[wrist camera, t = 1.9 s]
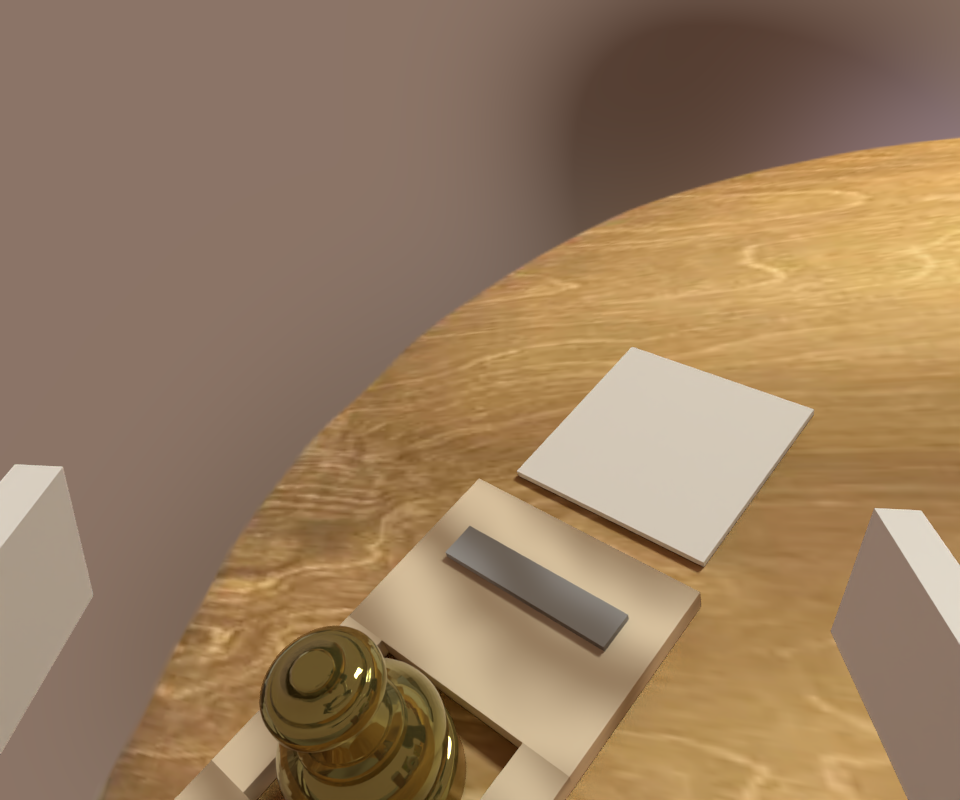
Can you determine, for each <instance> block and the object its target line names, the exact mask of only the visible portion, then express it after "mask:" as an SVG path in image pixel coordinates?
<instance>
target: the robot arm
mask: <svg viewBox="0 0 960 800" xmlns="http://www.w3.org/2000/svg"><path fill="white" fill-rule="evenodd" d="M92 597H93V592H92V587H91V583H90V579H89V575H88V571H87V566H86V562H85V558H84V554H83V549H82V545H81V541H80V537H79V532H78V528H77V524H76V520H75V516H74V511H73V507H72V503H71V499H70V495H69V490H68V486H67V482H66V478H65V473H64V469H63V467H57V466H37V465H17V464H15V465H14V466H13V467H12V469H11V470H10V471H9V472H8V473H7V474H6V476H5V477H4V478H3V479H2V480H1V482H0V754H1V753H2V751H3V749H4V747H5V746H6V744H7V742H8V741H9V739H10V737H11V735H12V734H13V732H14V730H15V729H16V727H17V725H18V723H19V722H20V720H21V718H22V716H23V715H24V713H25V711H26V710H27V708H28V706H29V705H30V703H31V701H32V699H33V698H34V696H35V694H36V692H37V691H38V689H39V687H40V686H41V684H42V682H43V680H44V679H45V677H46V675H47V674H48V672H49V670H50V669H51V667H52V665H53V663H54V662H55V660H56V658H57V657H58V655H59V653H60V651H61V650H62V648H63V646H64V645H65V643H66V641H67V639H68V638H69V636H70V634H71V633H72V631H73V629H74V627H75V626H76V624H77V622H78V621H79V619H80V617H81V615H82V614H83V612H84V610H85V609H86V607H87V605H88V603H89V602H90V600H91V598H92ZM831 633H832V635H833V638H834V640H835V642H836V644H837V646H838V648H839V651H840V653H841V655H842V657H843V659H844V662H845V664H846V666H847V668H848V670H849V672H850V675H851V677H852V679H853V681H854V683H855V685H856V688H857V690H858V692H859V694H860V696H861V698H862V701H863V703H864V705H865V707H866V709H867V711H868V714H869V716H870V718H871V720H872V722H873V725H874V727H875V729H876V731H877V733H878V735H879V738H880V740H881V742H882V744H883V746H884V748H885V751H886V753H887V755H888V757H889V759H890V761H891V764H892V766H893V768H894V770H895V772H896V774H897V777H898V779H899V781H900V783H901V785H902V788H903V790H904V792H905V794H906V796H907V798H908V800H960V565H959V564H958V562H957V561H956V559H955V558H954V557H953V555H952V554H951V552H950V551H949V549H948V548H947V547H946V545H945V544H944V542H943V541H942V540H941V538H940V537H939V535H938V534H937V532H936V531H935V530H934V528H933V527H932V525H931V524H930V522H929V521H928V520H927V518H926V517H925V515H924V514H923V512H922V511H920V510H901V509H881V508H874V511H873V513H872V516H871V519H870V522H869V525H868V528H867V530H866V533H865V536H864V539H863V542H862V544H861V547H860V550H859V553H858V556H857V559H856V561H855V564H854V567H853V570H852V573H851V576H850V578H849V581H848V584H847V587H846V590H845V593H844V595H843V598H842V601H841V604H840V607H839V609H838V612H837V615H836V618H835V621H834V624H833V626H832V629H831Z"/></svg>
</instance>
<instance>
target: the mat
mask: <svg viewBox="0 0 960 800" xmlns="http://www.w3.org/2000/svg"><path fill="white" fill-rule="evenodd" d="M813 415H814V409H811V408H808V407H805V406H802V405H800V404H797V403H794V402H791V401H788V400H785V399H782V398H779V397H776V396H773V395H771V394H768V393H765V392H762V391H759V390H756V389H753V388H750V387H747V386H744V385H742V384H739V383H736V382H733V381H730V380H727V379H724V378H721V377H718V376H715V375H712V374H710V373H707V372H704V371H701V370H698V369H695V368H692V367H689V366H686V365H683V364H681V363H678V362H675V361H672V360H669V359H666V358H663V357H660V356H657V355H654V354H652V353H649V352H646V351H643V350H640V349H637V348H634V347H631V348H630V349H629V351H628V352H627V353H626V354H625V355H624V356H623V357H622V358H621V359H620V360H619V361H618V362H617V364H616V365H615V366H614V367H613V368H612V369H611V370H610V371H609V372H608V373H607V374H606V375H605V377H604V378H603V379H602V380H601V381H600V382H599V383H598V384H597V385H596V386H595V387H594V388H593V389H592V391H591V392H590V393H589V394H588V395H587V396H586V397H585V398H584V399H583V400H582V401H581V402H580V404H579V405H578V406H577V407H576V408H575V409H574V410H573V411H572V412H571V413H570V414H569V415H568V417H567V418H566V419H565V420H564V421H563V422H562V423H561V424H560V425H559V426H558V427H557V428H556V429H555V431H554V432H553V433H552V434H551V435H550V436H549V437H548V438H547V439H546V440H545V441H544V442H543V444H542V445H541V446H540V447H539V448H538V449H537V450H536V451H535V452H534V453H533V454H532V455H531V457H530V458H529V459H528V460H527V461H526V462H525V463H524V464H523V465H522V466H521V467H520V468H519V469H518V471H517V473H518V476H520V477H522V478H524V479H526V480H528V481H530V482H532V483H534V484H536V485H539V486H541V487H543V488H545V489H547V490H549V491H551V492H553V493H555V494H557V495H559V496H561V497H563V498H565V499H567V500H569V501H571V502H573V503H575V504H577V505H579V506H581V507H583V508H585V509H587V510H589V511H591V512H593V513H595V514H597V515H599V516H601V517H603V518H605V519H607V520H609V521H611V522H613V523H615V524H617V525H620V526H622V527H624V528H626V529H628V530H630V531H632V532H634V533H636V534H638V535H640V536H642V537H644V538H646V539H648V540H650V541H652V542H654V543H656V544H658V545H660V546H662V547H664V548H666V549H668V550H670V551H672V552H674V553H676V554H678V555H680V556H682V557H684V558H686V559H688V560H690V561H692V562H694V563H696V564H699V565H701V566H703V567H704V566H705V565H706V564H707V562H708V561H709V559H710V558H711V557H712V555H713V554H714V553H715V551H716V550H717V548H718V547H719V546H720V544H721V543H722V541H723V540H724V539H725V537H726V536H727V534H728V533H729V532H730V530H731V529H732V527H733V526H734V525H735V523H736V522H737V521H738V519H739V518H740V516H741V515H742V514H743V512H744V511H745V509H746V508H747V507H748V505H749V504H750V502H751V501H752V500H753V498H754V497H755V495H756V494H757V493H758V491H759V490H760V489H761V487H762V486H763V484H764V483H765V482H766V480H767V479H768V477H769V476H770V475H771V473H772V472H773V470H774V469H775V468H776V466H777V465H778V463H779V462H780V461H781V459H782V458H783V457H784V455H785V454H786V452H787V451H788V450H789V448H790V447H791V445H792V444H793V443H794V441H795V440H796V438H797V437H798V436H799V434H800V433H801V431H802V430H803V429H804V427H805V426H806V425H807V423H808V422H809V420H810V419H811V418H812V416H813Z"/></svg>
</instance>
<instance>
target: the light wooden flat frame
mask: <svg viewBox="0 0 960 800" xmlns="http://www.w3.org/2000/svg"><path fill="white" fill-rule="evenodd" d="M700 607H701V597H700V592H699V591H697V590H695V589H693V588H691V587H689V586H687V585H685V584H683V583H681V582H679V581H677V580H675V579H673V578H671V577H669V576H668V575H666V574H664V573H662V572H660V571H658V570H656V569H654V568H652V567H650V566H648V565H646V564H644V563H642V562H640V561H638V560H636V559H635V558H633V557H631V556H629V555H627V554H625V553H623V552H621V551H619V550H617V549H615V548H613V547H611V546H609V545H607V544H605V543H603V542H601V541H600V540H598V539H596V538H594V537H592V536H590V535H588V534H586V533H584V532H582V531H580V530H578V529H576V528H574V527H572V526H570V525H568V524H566V523H565V522H563V521H561V520H559V519H557V518H555V517H553V516H551V515H549V514H547V513H545V512H543V511H541V510H539V509H537V508H535V507H533V506H531V505H530V504H528V503H526V502H524V501H522V500H520V499H518V498H516V497H514V496H512V495H510V494H508V493H506V492H504V491H502V490H500V489H498V488H496V487H495V486H493V485H491V484H489V483H487V482H485V481H483V480H481V479H478V480H477V481H476V482H475V484H474V485H473V486H472V487H471V488H470V489H469V490H468V491H467V492H466V493H465V494H464V495H463V496H462V497H461V498H460V499H459V500H458V501H457V503H456V504H455V505H454V506H453V507H452V508H451V509H450V510H449V511H448V512H447V513H446V514H445V515H444V516H443V517H442V518H441V519H440V520H439V521H438V523H437V524H436V525H435V526H434V527H433V528H432V529H431V530H430V531H429V532H428V533H427V534H426V535H425V536H424V537H423V538H422V539H421V540H420V541H419V543H418V544H417V545H416V546H415V547H414V548H413V549H412V550H411V551H410V552H409V553H408V554H407V555H406V556H405V557H404V558H403V559H402V560H401V561H400V563H399V564H398V565H397V566H396V567H395V568H394V569H393V570H392V571H391V572H390V573H389V574H388V575H387V576H386V577H385V578H384V579H383V580H382V581H381V583H380V584H379V585H378V586H377V587H376V588H375V589H374V590H373V591H372V592H371V593H370V594H369V595H368V596H367V597H366V598H365V599H364V600H363V601H362V603H361V604H360V605H359V606H358V607H357V608H356V609H355V610H354V611H353V612H352V613H351V614H350V615H349V616H348V617H347V618H346V619H345V620H344V621H343V623H342V624H341V625H340V626H347V627H351V628H354V629H357V630H359V631H361V632H363V633H364V634H366V635H367V636H368V637H369V638H370V639H371V640H372V641H373V642H374V643H375V644H376V645H377V646H378V648H379V649H380V651H381V653H382V655H383V657H385V656H386V655H387V654H388V653H390V654H392V655H393V656H394V657H396V658H397V659H398V660H400V661H402V662H404V663H407V664H409V665H411V666H413V667H414V668H416V669H417V670H419V671H420V672H421V673H423V674H424V675H425V676H426V677H427V678H428V679H429V680H430V681H431V683H432V684H433V685H434V686H435V687H436V688H438V689H439V690H441V691H442V692H443V693H445V694H446V695H447V696H449V697H450V698H451V699H453V700H454V701H455V702H457V703H458V704H460V705H461V706H462V707H464V708H465V709H466V710H468V711H469V712H470V713H472V714H473V715H475V716H476V717H477V718H479V719H480V720H481V721H483V722H484V723H485V724H487V725H488V726H489V727H491V728H492V729H494V730H495V731H496V732H498V733H499V734H500V735H502V736H503V737H504V738H506V739H507V740H509V741H510V742H511V743H513V744H514V745H515V746H517V747H518V748H519V749H518V750H517V751H516V753H515V754H514V755H513V757H512V758H511V759H510V761H509V762H508V763H507V765H506V766H505V767H504V769H503V770H502V771H501V772H500V774H499V775H498V776H497V778H496V779H495V780H494V782H493V783H492V784H491V786H490V787H489V788H488V790H487V791H486V792H485V794H484V795H483V796H482V798H481V799H480V800H566V798H567V797H568V796H569V794H570V793H571V791H572V790H573V788H574V787H575V786H576V784H577V783H578V781H579V780H580V779H581V777H582V776H583V774H584V773H585V771H586V770H587V769H588V767H589V766H590V764H591V763H592V761H593V760H594V759H595V757H596V756H597V754H598V753H599V751H600V750H601V749H602V747H603V746H604V744H605V743H606V741H607V740H608V739H609V737H610V736H611V734H612V733H613V731H614V730H615V729H616V727H617V726H618V724H619V723H620V721H621V720H622V719H623V717H624V716H625V714H626V713H627V711H628V710H629V709H630V707H631V706H632V704H633V703H634V701H635V700H636V699H637V697H638V696H639V694H640V693H641V691H642V690H643V689H644V687H645V686H646V684H647V683H648V681H649V680H650V679H651V677H652V676H653V674H654V673H655V671H656V670H657V669H658V667H659V666H660V664H661V663H662V661H663V660H664V659H665V657H666V656H667V654H668V653H669V651H670V650H671V649H672V647H673V646H674V644H675V643H676V641H677V640H678V639H679V637H680V636H681V634H682V633H683V631H684V630H685V629H686V627H687V626H688V624H689V623H690V621H691V620H692V619H693V617H694V616H695V614H696V613H697V611H698V610H699V609H700ZM277 744H278V742H277V741H276V740H275V739H274V738H273V737H272V736H271V735H270V733H269V732H268V730H267V728H266V726H265V724H264V722H263V720H262V717H261V713H260V710H259V711H258V712H257V713H256V714H255V715H254V716H253V717H252V718H251V719H250V720H249V721H248V723H247V724H246V725H245V726H244V727H243V728H242V729H241V730H240V731H239V732H238V733H237V734H236V735H235V736H234V737H233V738H232V739H231V740H230V742H229V743H228V744H227V745H226V746H225V747H224V748H223V749H222V750H221V751H220V752H219V753H218V754H217V755H216V756H215V757H214V758H213V759H212V760H211V762H210V763H209V764H208V765H207V766H206V767H205V768H204V769H203V770H202V771H201V772H200V773H199V774H198V775H197V776H196V777H195V778H194V779H193V780H192V782H191V783H190V784H189V785H188V786H187V787H186V788H185V789H184V790H183V791H182V792H181V793H180V794H179V795H178V796H177V797H176V798H175V799H174V800H257V799H258V798H259V797H260V796H261V794H262V793H263V792H264V791H265V790H266V789H267V788H268V787H269V786H270V784H271V783H272V782H273V781H274V780H275V779H276V778H277V774H276V750H277Z"/></svg>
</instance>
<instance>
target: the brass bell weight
mask: <svg viewBox="0 0 960 800" xmlns="http://www.w3.org/2000/svg"><path fill="white" fill-rule="evenodd" d="M259 705H260V713H261V717H262V720H263V722H264V724H265V726H266V728H267V730H268V732H269V733H270V735H271V736H272V737H273V738H274V739H275V740H276V741H277V742H278V744H277V750H276V774H277V780H278V784H279V787H280V790H281V793H282V795H283V797H284V799H285V800H461V797H462V794H463V790H464V785H465V779H466V759H465V753H464V749H463V745H462V742H461V740H460V737H459V735H458V733H457V731H456V729H455V725H454V723H453V720H452V718H451V716H450V714H449V712H448V711H447V709H446V708H445V706H444V704H443V702H442V699H441V697H440V695H439V693H438V691H437V690H436V688H435V687H434V685H433V684H432V683H431V681H430V680H429V679H428V678H427V677H426V676H425V675H424V674H423V673H421V672H420V671H419V670H417V669H416V668H414V667H413V666H411V665H409V664H407V663H404V662H402V661H399V660H395V659H391V658H384V657H383V655H382V653H381V651H380V649H379V648H378V646H377V645H376V644H375V643H374V642H373V641H372V640H371V639H370V638H369V637H368V636H367V635H366V634H364V633H363V632H361V631H359V630H357V629H354V628H351V627H347V626H327V627H322V628H318V629H315V630H312V631H310V632H307V633H305V634H303V635H302V636H300V637H298V638H297V639H295V640H294V641H292V642H291V643H290V644H289V645H288V646H286V647H285V648H284V649H283V650H282V651H281V652H280V653H279V655H278V656H277V657H276V658H275V660H274V661H273V662H272V664H271V665H270V667H269V669H268V671H267V673H266V675H265V677H264V680H263V683H262V686H261V691H260V699H259Z"/></svg>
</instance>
